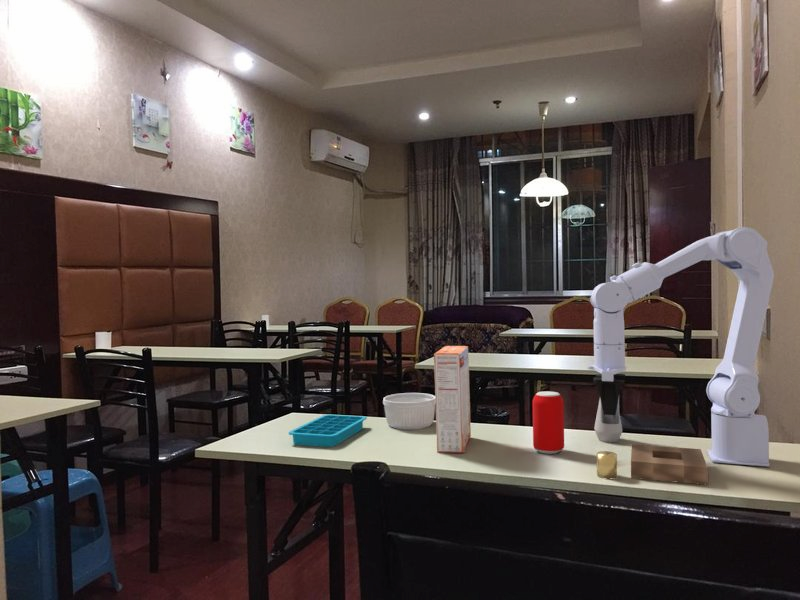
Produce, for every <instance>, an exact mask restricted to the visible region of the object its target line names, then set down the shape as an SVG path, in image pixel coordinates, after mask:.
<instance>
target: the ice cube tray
mask: <svg viewBox="0 0 800 600" xmlns="http://www.w3.org/2000/svg"><path fill="white" fill-rule="evenodd" d="M367 418H368V417H367V416H364V415H347V414H346V415H345V414H344V415H343V414H324V415H321V416H319V417H317V418H314V419H313V420H311V421H309V422H306V423H305V424H301V425H300V426H298V427H296V428H294V429H291V430H289V431H288V435H290V436H292V440H293V441H292V443H293V445H295V446H296V445H297V446H309V447H310V446H312V447H324V448H326V447H327V448H330V447H331V448H332V447H336V446H337V445H339V444H341V443H342V442H344V441H345V440H347V439H349V438H351V437H352V436H353V435H355V434H357V433H359V432H360V431H362V430H363V425H364V421H365V420H367Z"/></svg>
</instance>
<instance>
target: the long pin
mask: <svg viewBox="0 0 800 600" xmlns="http://www.w3.org/2000/svg"><path fill="white" fill-rule="evenodd" d="M619 414H620V396H619V397H618V405H617V410H616V414H615V415H604V412H603V409H602V404H601V422H602V423H604V424H619Z"/></svg>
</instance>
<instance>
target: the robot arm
mask: <svg viewBox="0 0 800 600" xmlns="http://www.w3.org/2000/svg"><path fill="white" fill-rule="evenodd" d="M767 248H768V241H767V240H766V239H765V238H764V237H763V236H762V235H761V234H760V233H759V232H758V231H757V230H756V229H754V228H752V227H749V226H748V227H747V226H741V227H737V228H735V229H731V230H724V231H720V232H717V233H715V234H714V235H710V236H707V237H704V238H701V239H699V240H696V241H695V242H694V241H693V243H691V244H688V245H687V246H685V247H684V248H682V249H680V250H678V251H676V252H675V253H672V254H670V255H669V256H667V257H666V258H664V259H662V260H660V261H658V262H656V263H650V262H646V261H644V262H642V263H640V262H635V263H633V264H632V265H631V267H632V268H631V269H629V270H626V271H625V272H623V273H621V274H619V275H617V276H616V275H612V276H610V277H609V279H610V281H608V282H602V283H599V284H597V286H595V287H594V288H593V290H592V292H591V296H590V297H589V301H590V304H591V306H592V307H593V317H594V319H593V358H594V359H593V360H594V361H593V364H588V365H587V369H588V370H593V371H596V372H597V373H600V374H595V377H593V383H594V385H595V387H596V388H597V391H598V394H599V395H598V396H599V400H600V399H601V404H602V409H603V412H604V415H615V414H616V410H617V405H618V397H619V398H620V393H621V389H622V388H623V385H624V383H625V378H626V374H625V373H623V372H626V371H627V366H626V353H625V351H626V350H625V348H626V346H625V345H626V344H625V320H624V309H625V307H626V306H627V304H628V303H630V304H631V303H633V302H634V301H636V300H639V299H640V298H643V297H644V296H647V295H649V294H650V293H652V292H654V291H656V290H658V289H661V287H662V284H663V280H664V279H665V278H667V277H669V276H671V275H674V274H676V273H678V272H680V271H682V270H685V269H687V268H688V267H691V266H693V265H695V264H697V263H699V262H701V261H713V260H714V261H716V262H717V263H719V264H721V265H723V266H724V267H725V268H728V269H729V270H730V271H731V272H732V273H733V275H735V277H736V278H737V279H738V280H739V286H738V290H737V295H736V298H735V299H736V300H735V304H734V307H733V312H732V318H731V323H730V327H729V332H728V336H727V341H726V345H725V349H724V350H725V351H724V354H723V358H722V361H720V363H719V364H718V365H717V366H716V368H715V372H714V375H713V377H711V379H710V380H709V381H708V383H707V386H706V389H705V392H706V395H707V397H708V400H710V402H711V403H712V406H711V408H710V412H711V413H710V414H711V415H710V416H711V422H710V423H711V425H710V426H711V448H710V449H709V448H708V449H707V453H708V456H709V459H710V461H711V462H712V463H720V464H730V465H731V464H732V465H746V466H754V467H755V466H757V467H770V445H769V444H770V442H769V441H770V440H769V439H770V437H769V436H770V435H769V433H770V432H769V431H770V430H769V423H768V419H767V416H766V415H764V414H755V411H756V410H757V409H758V408H759V406H760V402H761V395H760V394H761V393H760V391H759V380H760V378H759V375H758V373H757V371H756V368H755V367H756V366H755V364H756V360H757V356H758V351H759V346H760V342H761V337H762V333H763V329H764V326H765V325H764V323H765V319H766V314H767V310H768V305H769V302H770V297H771V292H772V288H773V283H774V279H775V272H774V269H773V266H772V263H771V260H770V256H769V254H768V249H767Z"/></svg>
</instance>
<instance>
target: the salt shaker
mask: <svg viewBox="0 0 800 600" xmlns="http://www.w3.org/2000/svg"><path fill="white" fill-rule="evenodd" d="M596 411H597V412H596V418H595V422H594V427H593V428H594V431H595V434H596V436H597V439H598V441H600V442H603V443H604V442H605V443H615V442H619V440H620V438H621V436H622V434H623V426H622V421H621V420H622V419H621V416H620V415H621V414H620V413H619V424H604V423H602V422H601V399H600V398H599V400H598V406H597V410H596Z"/></svg>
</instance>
